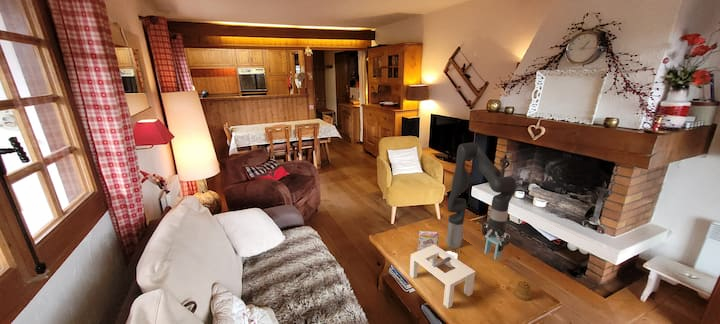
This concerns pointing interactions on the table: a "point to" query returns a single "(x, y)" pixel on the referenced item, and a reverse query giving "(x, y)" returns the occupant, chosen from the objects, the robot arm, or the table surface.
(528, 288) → the ornamental finial
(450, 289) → the cutout shelf
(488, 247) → the teal u-channel bracket
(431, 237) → the candy bar box
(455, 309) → the table surface
